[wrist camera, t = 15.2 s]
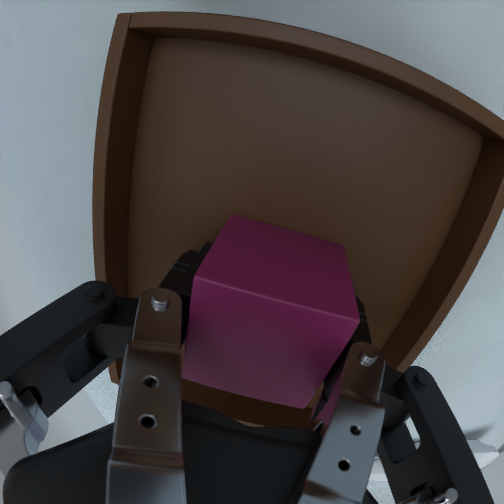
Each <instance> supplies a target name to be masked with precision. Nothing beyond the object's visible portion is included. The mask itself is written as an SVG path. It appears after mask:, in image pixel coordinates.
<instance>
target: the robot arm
mask: <svg viewBox="0 0 504 504" xmlns="http://www.w3.org/2000/svg"><path fill="white" fill-rule="evenodd" d="M212 245H213V243H210V242H206V243H205V244H204V246H203V247H202V249H201V250H200V252H197V251H194V250H189V251H187V252H185V253H183V254H181V256H180V257H179V258H178V260H177V261H176V263H175V264H174V265H173V267H172V269H170V271H169V272H168V274H167V275H166V276H165V278H164V279H163V281H162V282H161V283H160V285H159V286H158V288H151V289H148V290H146V291H144V292H143V293H142V294H141V296H140V298H127V297H118V296H116V292H115V289H114V288H113V286H112V285H110V284H109V283H107V282H104V281H89V282H86V283H84V284H82V285H80V286H78V287H77V288H75V289H73V290H72V291H70V292H68V293H67V294H65V295H63V296H62V297H60V298H58V299H57V300H55V301H54V302H52V303H50V304H49V305H47V306H46V307H44V308H42V309H41V310H39V311H38V312H36V313H34V314H33V315H31V316H30V317H28V318H27V319H25V320H23V321H22V322H21V323H19V324H17V325H16V326H14V327H13V328H11V329H10V330H8V331H7V332H5V333H4V334H2V335H1V336H0V470H1V471H2V473H3V474H4V475H5V480H4V484H3V502H4V504H378V502H377V501H376V500H375V499H374V497H373V496H372V495H371V493H370V492H369V491H368V490H367V484H368V481H369V478H370V474H371V470H372V467H373V463H374V459H375V455H376V451H377V452H378V455H379V458H380V461H381V463H382V466H383V469H384V472H385V475H386V477H387V480H388V483H389V486H390V489H391V492H392V495H393V498H394V500H395V503H396V504H494V501H493V499H492V496H491V494H490V491H489V489H488V486H487V484H486V482H485V479H484V477H483V475H482V472H481V470H480V468H479V466H478V463H477V461H476V459H475V457H474V455H473V453H472V450H471V448H470V446H469V444H468V442H467V440H466V438H465V436H464V434H463V432H462V430H461V428H460V426H459V424H458V422H457V420H456V418H455V416H454V414H453V413H452V411H451V409H450V407H449V405H448V403H447V401H446V400H445V398H444V396H443V394H442V392H441V390H440V389H439V387H438V385H437V383H436V382H435V380H434V378H433V377H432V375H431V374H430V373H429V372H428V371H427V370H425V369H424V368H422V367H419V366H410V367H408V368H407V369H406V371H405V372H404V373H402V372H400V371H398V370H395V369H393V368H391V367H389V366H387V365H386V364H385V362H386V361H385V357H384V355H383V353H382V352H381V351H380V350H379V349H378V348H377V347H376V346H374V345H372V340H371V336H370V331H369V326H368V323H367V317H366V315H365V314H366V313H365V308H364V305H363V303H362V302H361V301H360V299H359V298H358V296H355V297H356V302H357V306H358V311H359V316H360V323H359V324H358V326H357V328H356V330H355V331H354V333H353V335H352V336H351V338H350V340H349V341H348V343H347V345H346V346H345V348H344V350H343V351H342V353H341V354H340V356H339V358H338V359H337V361H336V362H335V364H334V365H333V367H332V369H331V370H330V372H329V373H328V375H327V376H326V378H325V379H324V381H323V382H324V387H323V389H322V390H321V392H320V393H319V395H318V398H317V400H316V402H315V405H314V407H313V409H312V412H311V414H310V416H309V418H308V421H307V423H306V425H305V427H304V429H299V428H293V427H288V426H271V427H251V426H247V425H244V424H242V423H240V422H238V421H236V420H234V419H232V418H230V417H228V416H226V415H224V414H222V413H220V412H218V411H216V410H215V409H212V408H208V407H205V406H202V405H198V404H195V403H192V402H189V401H186V400H183V399H181V346H182V345H185V340H186V332H187V324H188V316H189V308H190V300H191V293H192V286H193V279H194V275H195V274H196V272H197V270H198V268H199V267H200V265H201V263H202V262H203V260H204V258H205V257H206V255H207V253H208V252H209V250H210V248H211V246H212ZM118 357H120V358H124V359H123V365H122V371H121V377H120V383H119V390H118V397H117V404H116V412H115V420H114V422H113V423H111V424H108V425H106V426H104V427H102V428H100V429H97V430H95V431H92V432H90V433H88V434H85V435H83V436H80V437H78V438H75V439H73V440H71V441H68V442H66V443H63V444H60V445H58V446H55V447H52V448H50V449H47V450H44V451H41V452H39V453H38V448H39V444H40V442H41V441H43V440H44V438H45V436H46V434H47V432H48V419H47V418H48V417H49V416H51V415H52V414H53V413H54V412H56V411H57V410H58V409H59V408H60V407H61V406H63V405H64V404H65V403H66V402H67V401H68V400H69V399H71V398H72V397H73V396H74V395H75V394H76V393H78V392H79V391H80V390H81V389H82V388H84V387H85V386H86V385H87V384H88V383H89V382H91V381H92V380H93V379H94V378H95V377H96V376H98V375H99V374H100V373H101V372H102V371H103V370H105V369H106V368H107V367H108V366H109V365H110V364H112V363H113V362H114V361H115V360H116V359H117V358H118ZM410 417H411V419H412V421H413V423H414V426H415V428H416V430H417V432H418V434H419V437H420V445H419V447H418V449H416V446H415V444H414V442H413V439H412V437H411V435H410V433H409V430H408V428H407V426H406V424H405V421H406V420H407V419H408V418H410Z"/></svg>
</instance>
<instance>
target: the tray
mask: <svg viewBox="0 0 504 504" xmlns="http://www.w3.org/2000/svg"><path fill="white" fill-rule="evenodd" d="M503 208H504V120H502V119H501V118H500V117H498V116H497V115H495V114H494V113H492V112H491V111H490V110H488V109H487V108H485V107H484V106H482V105H480V104H479V103H477V102H476V101H474V100H473V99H471V98H469V97H468V96H466V95H465V94H463V93H461V92H459V91H458V90H456V89H454V88H453V87H451V86H449V85H447V84H445V83H444V82H442V81H440V80H438V79H436V78H434V77H432V76H430V75H428V74H426V73H424V72H422V71H420V70H418V69H416V68H414V67H412V66H410V65H408V64H405V63H403V62H401V61H399V60H396V59H394V58H391V57H389V56H387V55H384V54H382V53H379V52H377V51H374V50H371V49H369V48H366V47H363V46H360V45H358V44H355V43H352V42H349V41H346V40H343V39H339V38H336V37H333V36H330V35H326V34H323V33H319V32H315V31H311V30H308V29H304V28H299V27H295V26H291V25H286V24H281V23H276V22H271V21H266V20H260V19H254V18H247V17H240V16H232V15H223V14H212V13H197V12H135V13H120V14H118V15H117V19H116V22H115V26H114V30H113V34H112V38H111V43H110V47H109V52H108V56H107V61H106V66H105V72H104V77H103V83H102V89H101V96H100V103H99V110H98V119H97V128H96V138H95V151H94V167H93V199H92V217H93V249H94V266H95V278H96V281H104V282H107V283H109V284H110V285H112V286H113V288H114V289H115V292H116V296H118V297H127V298H140V296H141V294H142V293H143V292H144V291H146V290H148V289H151V288H158V286H159V285H160V283H161V282H162V281H163V279H164V278H165V276H166V275H167V274H168V272H169V271H170V269H172V267H173V265H174V264H175V263H176V261H177V260H178V258H179V257H180V256H181V254H183V253H185V252H187V251H189V250H194V251H197V252H200V250H201V249H202V247H203V246H204V244H205V243H206V242H210V243H214V241H215V240H216V238H217V236H218V235H219V233H220V231H221V230H222V228H223V227H224V225H225V223H226V222H227V220H228V218H229V217H230V215H231V214H234V215H238V216H242V217H246V218H249V219H253V220H257V221H260V222H264V223H267V224H271V225H275V226H278V227H282V228H285V229H289V230H292V231H296V232H299V233H303V234H306V235H310V236H313V237H317V238H320V239H323V240H327V241H330V242H334V243H337V244H340V245H343V246H344V250H345V254H346V258H347V262H348V266H349V271H350V275H351V279H352V283H353V288H354V292H355V296H358V298H359V299H360V301H361V302H362V303H363V305H364V308H365V313H366V314H365V315H366V317H367V323H368V326H369V331H370V336H371V340H372V345H374V346H376V347H377V348H378V349H379V350H380V351H381V352H382V353H383V355H384V357H385V361H386V362H385V364H386V365H387V366H389V367H391V368H393V369H395V370H398V371H400V372H402V373H404V372H405V371H406V369H407V368H408V367H410V366H411V364H412V363H413V362H414V360H415V359H416V358H417V357H418V355H419V354H420V353H421V351H422V350H423V349H424V347H425V346H426V345H427V343H428V342H429V341H430V339H431V338H432V336H433V335H434V334H435V332H436V331H437V329H438V328H439V326H440V325H441V323H442V322H443V320H444V319H445V317H446V316H447V314H448V313H449V311H450V310H451V308H452V307H453V305H454V303H455V302H456V300H457V299H458V297H459V295H460V294H461V292H462V290H463V289H464V287H465V285H466V284H467V282H468V280H469V278H470V276H471V275H472V273H473V271H474V269H475V267H476V266H477V264H478V262H479V260H480V258H481V256H482V254H483V252H484V250H485V248H486V246H487V244H488V242H489V240H490V238H491V236H492V234H493V231H494V229H495V227H496V225H497V223H498V220H499V218H500V216H501V213H502V211H503ZM184 349H185V345H182V346H181V399H183V400H186V401H189V402H192V403H195V404H198V405H202V406H205V407H208V408H212V409H215V410H216V411H218V412H220V413H222V414H224V415H226V416H228V417H230V418H232V419H234V420H236V421H238V422H240V423H242V424H244V425H247V426H251V427H271V426H288V427H293V428H299V429H304V427H305V425H306V423H307V421H308V418H309V416H310V414H311V412H312V409H313V407H314V405H315V402H316V400H317V398H318V395H319V393H320V392H321V390H322V389H323V387H324V382H322V384H321V385H320V387H319V388H318V390H317V391H316V392H315V394H314V395H313V397H312V398H311V400H310V401H309V402H308V404H307V405H306V407H305V408H303V409H302V408H297V407H292V406H287V405H282V404H277V403H273V402H268V401H264V400H259V399H255V398H251V397H247V396H243V395H239V394H235V393H232V392H228V391H224V390H221V389H217V388H214V387H210V386H207V385H204V384H200V383H197V382H194V381H191V380H188V379H185V378H182V368H183V358H184ZM123 359H124V358H120V357H118V358H117V359H116V360H115V361H114V362H113V363H112V364H110V365H109V366H108V369H109V374H110V378H111V381H112V382H113V383H116V384H118V385H119V383H120V377H121V371H122V365H123Z"/></svg>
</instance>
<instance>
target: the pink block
mask: <svg viewBox="0 0 504 504" xmlns="http://www.w3.org/2000/svg"><path fill="white" fill-rule="evenodd" d="M359 323H360V316H359V311H358V306H357V302H356V297H355V292H354V288H353V283H352V279H351V275H350V271H349V266H348V262H347V258H346V254H345V250H344V246H343V245H340V244H337V243H334V242H330V241H327V240H323V239H320V238H317V237H313V236H310V235H306V234H303V233H299V232H296V231H292V230H289V229H285V228H282V227H278V226H275V225H271V224H267V223H264V222H260V221H257V220H253V219H249V218H246V217H242V216H238V215H234V214H231V215H230V217H229V218H228V220H227V222H226V223H225V225H224V227H223V228H222V230H221V231H220V233H219V235H218V236H217V238H216V240H215V241H214V243H213V245H212V246H211V248H210V250H209V252H208V253H207V255H206V257H205V258H204V260H203V262H202V263H201V265H200V267H199V268H198V270H197V272H196V274H195V275H194V279H193V286H192V293H191V300H190V308H189V316H188V324H187V332H186V340H185V349H184V358H183V368H182V378H185V379H188V380H191V381H194V382H197V383H200V384H204V385H207V386H210V387H214V388H217V389H221V390H224V391H228V392H232V393H235V394H239V395H243V396H247V397H251V398H255V399H259V400H264V401H268V402H273V403H277V404H282V405H287V406H292V407H297V408H302V409H303V408H305V407H306V405H307V404H308V402H309V401H310V400H311V398H312V397H313V395H314V394H315V392H316V391H317V390H318V388H319V387H320V385H321V384H322V382H323V381H324V379H325V378H326V376H327V375H328V373H329V372H330V370H331V369H332V367H333V365H334V364H335V362H336V361H337V359H338V358H339V356H340V354H341V353H342V351H343V350H344V348H345V346H346V345H347V343H348V341H349V340H350V338H351V336H352V335H353V333H354V331H355V330H356V328H357V326H358V324H359Z"/></svg>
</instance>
